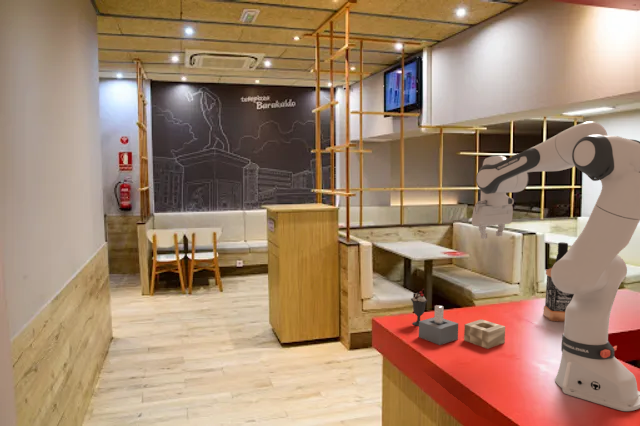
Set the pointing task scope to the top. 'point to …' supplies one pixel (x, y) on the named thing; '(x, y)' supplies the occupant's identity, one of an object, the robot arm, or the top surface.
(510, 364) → the top surface
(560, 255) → the whiskey bottle
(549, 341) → the top surface
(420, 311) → the sundae
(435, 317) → the pin
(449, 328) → the dock block
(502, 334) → the mount block
